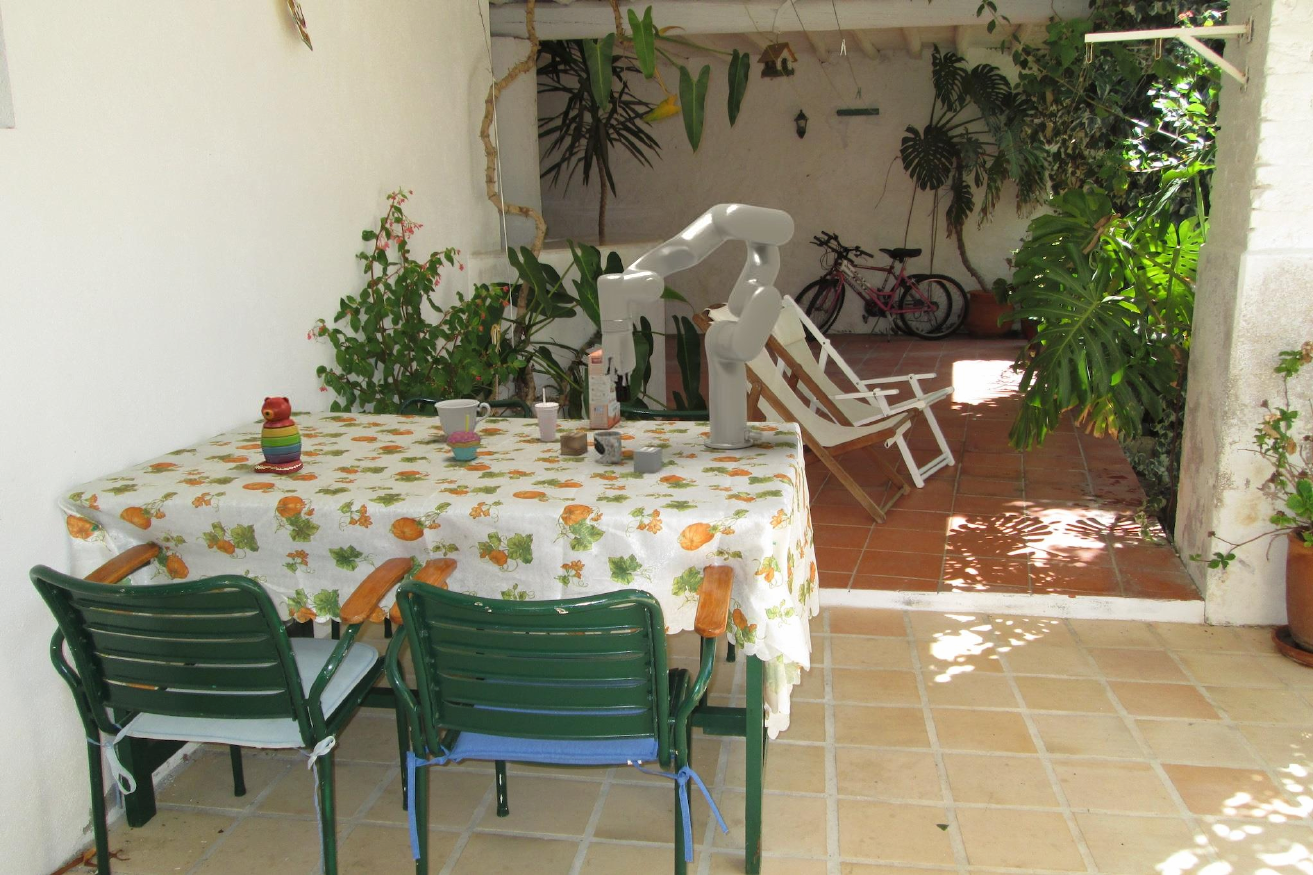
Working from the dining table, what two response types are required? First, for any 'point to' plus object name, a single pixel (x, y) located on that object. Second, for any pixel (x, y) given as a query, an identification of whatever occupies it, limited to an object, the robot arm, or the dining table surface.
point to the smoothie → (547, 419)
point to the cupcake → (464, 443)
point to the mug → (607, 447)
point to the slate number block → (647, 459)
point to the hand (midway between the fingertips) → (623, 401)
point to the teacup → (459, 414)
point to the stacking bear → (279, 437)
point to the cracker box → (601, 395)
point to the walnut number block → (573, 443)
